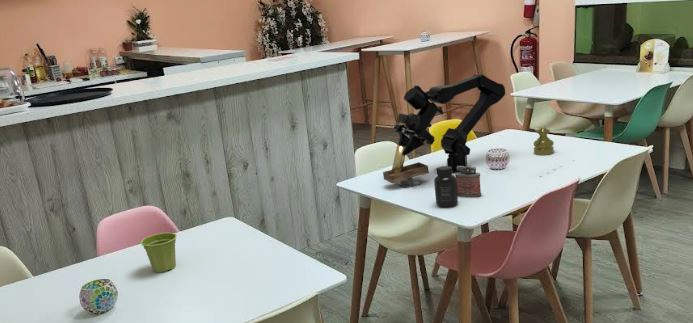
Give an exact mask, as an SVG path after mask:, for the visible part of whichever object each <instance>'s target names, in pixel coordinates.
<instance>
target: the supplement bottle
mask: <svg viewBox="0 0 693 323" xmlns="http://www.w3.org/2000/svg"><path fill="white" fill-rule="evenodd" d="M453 173H454V172H452V167H450V166H447V165H444V166H438V167H437V168H436V176H435V177H434V180H433V181H434V182H433V183H434V194H435V205H436V206H437V207H439V208H442V209H443V208H453V207H456V206H458V204H459V198H458V195H457V183H456V177H455V174H453Z"/></svg>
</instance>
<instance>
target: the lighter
mask: <svg viewBox="0 0 693 323" xmlns="http://www.w3.org/2000/svg"><path fill="white" fill-rule="evenodd" d="M457 171H461V172H454V176H455V177H456V183H457V195H458V197H459V198H471V199H472V198H481V197H482V189H481V173H480V172H477V167H476V166H471V165H468V164H467V167H464V166H457ZM463 171H465V172H463Z"/></svg>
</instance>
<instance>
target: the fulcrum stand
mask: <svg viewBox="0 0 693 323" xmlns="http://www.w3.org/2000/svg"><path fill="white" fill-rule="evenodd" d="M394 185H396V186H399V187H401V188H403V189H410V188H413V187H418V186H420V185H421V183H420V182H418V181H416V180H414V177H413V178H410V179H406V180H403V181H399V182H396V183H394Z"/></svg>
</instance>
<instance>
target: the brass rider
mask: <svg viewBox="0 0 693 323" xmlns="http://www.w3.org/2000/svg"><path fill="white" fill-rule="evenodd" d="M404 149H405V146H401V145H398V144H397V145H396V149H395V153H394V157H393V158H394V159H393V162H392V168H391V170H392V171H391V173H392V174H399V173H402V169H403V166H404V164H405V159H406V155H403V151H404Z"/></svg>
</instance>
